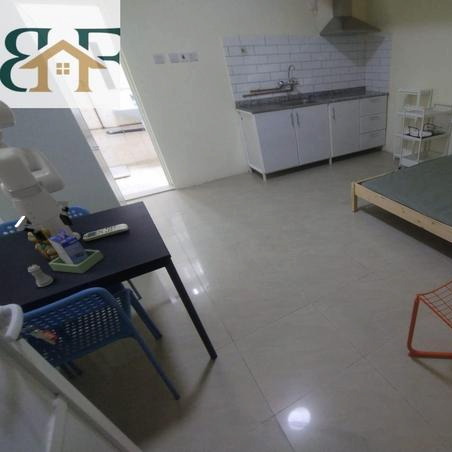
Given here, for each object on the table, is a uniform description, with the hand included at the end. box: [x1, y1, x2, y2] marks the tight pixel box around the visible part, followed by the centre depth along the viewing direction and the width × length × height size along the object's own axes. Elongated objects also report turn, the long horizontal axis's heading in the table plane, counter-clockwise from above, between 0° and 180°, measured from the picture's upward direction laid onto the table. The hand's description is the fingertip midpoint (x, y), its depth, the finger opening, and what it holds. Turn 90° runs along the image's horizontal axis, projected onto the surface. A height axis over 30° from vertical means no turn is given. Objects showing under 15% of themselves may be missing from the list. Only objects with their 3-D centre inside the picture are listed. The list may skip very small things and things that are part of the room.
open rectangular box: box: [48, 248, 105, 274], centre depth 110 cm, size 14×10×4 cm
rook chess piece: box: [27, 264, 54, 288], centre depth 100 cm, size 4×4×8 cm
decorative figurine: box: [25, 225, 59, 261], centre depth 113 cm, size 10×8×15 cm
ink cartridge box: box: [48, 229, 89, 265], centre depth 107 cm, size 10×6×14 cm, turn 64°
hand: (56, 232), depth 103 cm, fingers open, 9 cm apart
